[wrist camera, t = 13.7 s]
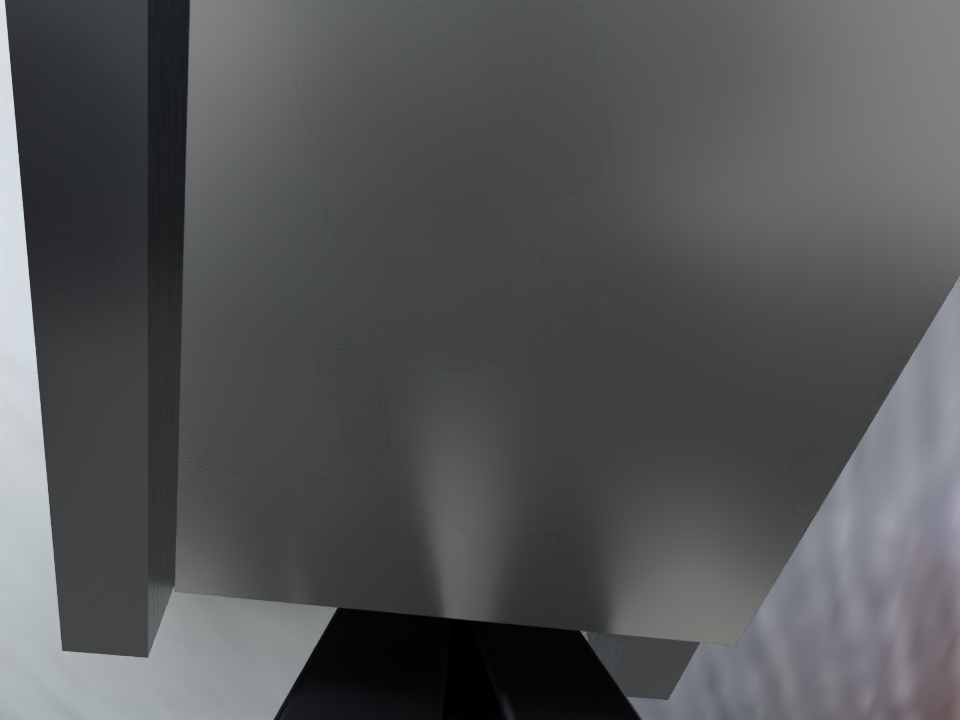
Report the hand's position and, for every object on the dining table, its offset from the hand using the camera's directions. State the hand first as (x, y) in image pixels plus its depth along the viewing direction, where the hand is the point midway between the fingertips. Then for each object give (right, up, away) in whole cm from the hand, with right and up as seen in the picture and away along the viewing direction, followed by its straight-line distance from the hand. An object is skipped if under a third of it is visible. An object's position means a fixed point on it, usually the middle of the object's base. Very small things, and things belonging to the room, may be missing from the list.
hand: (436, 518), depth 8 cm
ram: (+1, +6, -1) cm, 6 cm away
